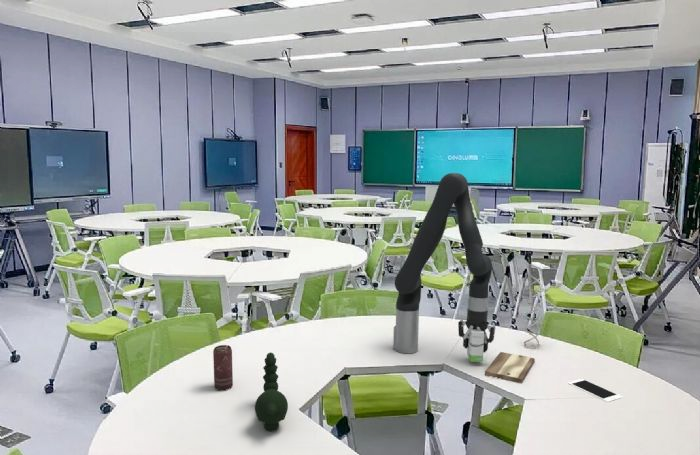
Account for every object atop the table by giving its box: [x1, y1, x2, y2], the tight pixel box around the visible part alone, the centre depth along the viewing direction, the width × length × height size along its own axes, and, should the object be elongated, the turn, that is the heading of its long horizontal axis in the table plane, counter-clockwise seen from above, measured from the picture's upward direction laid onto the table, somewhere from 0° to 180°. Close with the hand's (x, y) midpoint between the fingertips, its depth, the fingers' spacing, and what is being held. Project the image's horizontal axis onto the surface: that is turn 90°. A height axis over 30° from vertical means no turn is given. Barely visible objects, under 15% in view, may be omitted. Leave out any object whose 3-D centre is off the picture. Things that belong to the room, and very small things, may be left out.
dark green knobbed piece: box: [254, 352, 289, 432], centre depth 158 cm, size 9×19×25 cm
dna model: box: [523, 274, 544, 349], centre depth 218 cm, size 7×6×30 cm
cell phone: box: [567, 378, 624, 403], centre depth 180 cm, size 8×16×1 cm, turn 27°
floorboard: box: [484, 351, 536, 384], centre depth 198 cm, size 13×22×2 cm, turn 150°
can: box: [212, 344, 234, 391], centre depth 179 cm, size 6×6×14 cm
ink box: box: [466, 329, 484, 363], centre depth 203 cm, size 9×5×12 cm, turn 175°
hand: (475, 349), depth 203 cm, fingers closed on ink box, 6 cm apart
